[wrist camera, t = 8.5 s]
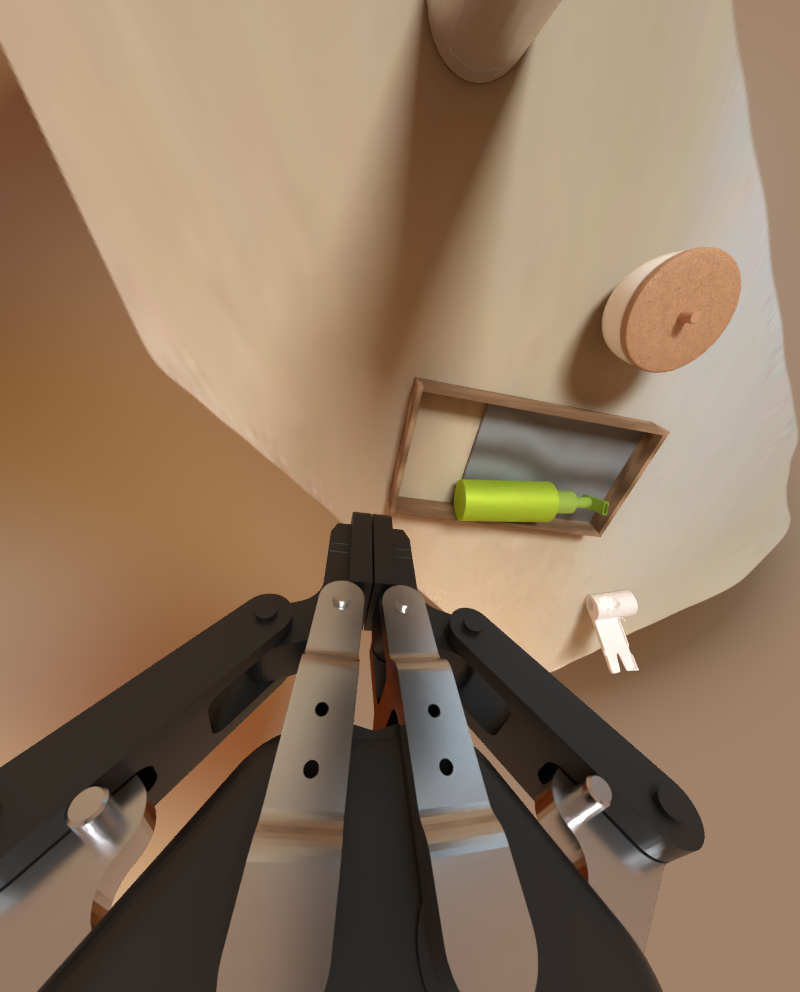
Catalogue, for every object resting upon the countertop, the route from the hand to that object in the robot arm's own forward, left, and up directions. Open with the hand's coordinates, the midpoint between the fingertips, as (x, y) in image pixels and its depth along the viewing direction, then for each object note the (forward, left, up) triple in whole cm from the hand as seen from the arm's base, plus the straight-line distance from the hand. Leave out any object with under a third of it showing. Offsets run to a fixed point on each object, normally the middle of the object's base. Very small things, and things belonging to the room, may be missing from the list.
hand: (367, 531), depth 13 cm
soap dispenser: (+15, +15, -28) cm, 35 cm away
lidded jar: (-11, +29, -32) cm, 45 cm away
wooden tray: (+10, +23, -32) cm, 41 cm away
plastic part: (+38, +54, -32) cm, 73 cm away
